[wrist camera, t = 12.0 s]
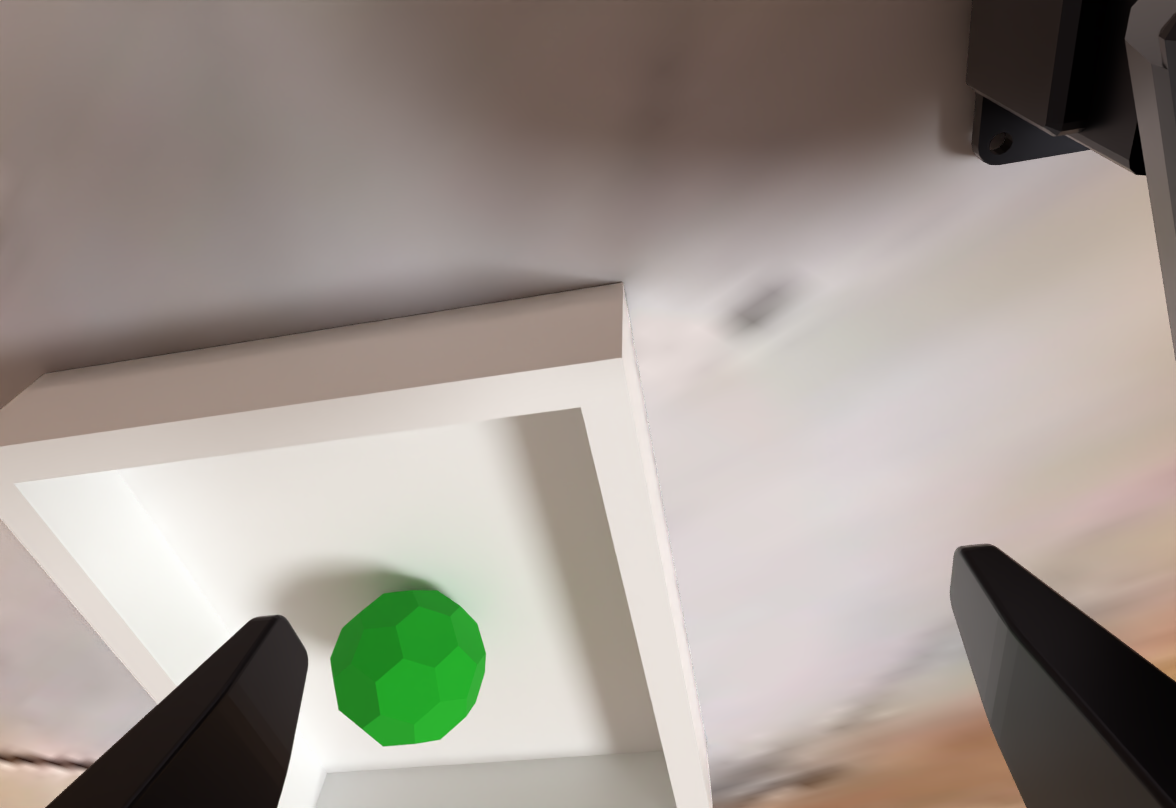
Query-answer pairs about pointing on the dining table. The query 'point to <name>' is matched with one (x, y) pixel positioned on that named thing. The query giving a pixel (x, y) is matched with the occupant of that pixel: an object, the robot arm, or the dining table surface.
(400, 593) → the polyhedron
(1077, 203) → the dining table surface
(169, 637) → the white tray
